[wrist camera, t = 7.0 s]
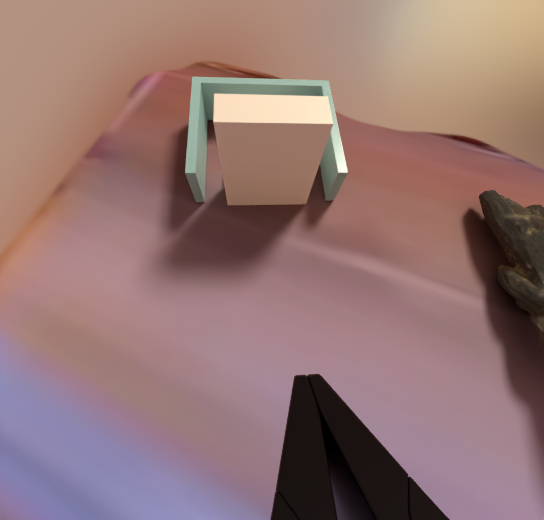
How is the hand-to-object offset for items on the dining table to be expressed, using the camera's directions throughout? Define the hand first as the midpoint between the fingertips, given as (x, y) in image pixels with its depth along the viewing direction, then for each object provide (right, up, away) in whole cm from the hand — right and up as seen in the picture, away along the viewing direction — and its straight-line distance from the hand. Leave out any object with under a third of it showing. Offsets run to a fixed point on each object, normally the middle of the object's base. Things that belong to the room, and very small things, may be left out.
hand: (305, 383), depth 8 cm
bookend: (-2, +14, +17) cm, 22 cm away
